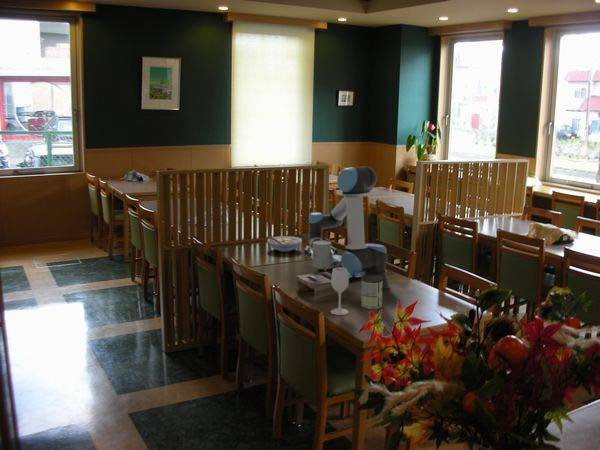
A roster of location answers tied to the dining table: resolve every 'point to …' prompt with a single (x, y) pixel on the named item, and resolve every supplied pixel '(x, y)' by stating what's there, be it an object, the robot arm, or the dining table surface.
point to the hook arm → (319, 279)
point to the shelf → (319, 287)
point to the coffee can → (371, 291)
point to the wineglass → (339, 287)
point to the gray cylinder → (321, 254)
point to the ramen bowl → (284, 243)
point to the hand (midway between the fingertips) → (322, 255)
